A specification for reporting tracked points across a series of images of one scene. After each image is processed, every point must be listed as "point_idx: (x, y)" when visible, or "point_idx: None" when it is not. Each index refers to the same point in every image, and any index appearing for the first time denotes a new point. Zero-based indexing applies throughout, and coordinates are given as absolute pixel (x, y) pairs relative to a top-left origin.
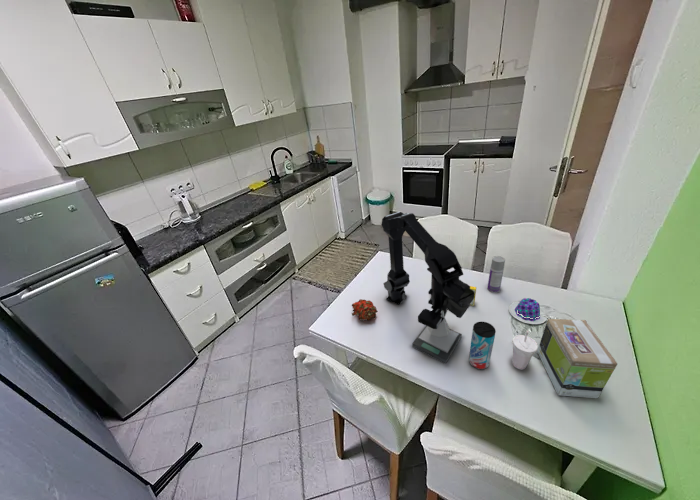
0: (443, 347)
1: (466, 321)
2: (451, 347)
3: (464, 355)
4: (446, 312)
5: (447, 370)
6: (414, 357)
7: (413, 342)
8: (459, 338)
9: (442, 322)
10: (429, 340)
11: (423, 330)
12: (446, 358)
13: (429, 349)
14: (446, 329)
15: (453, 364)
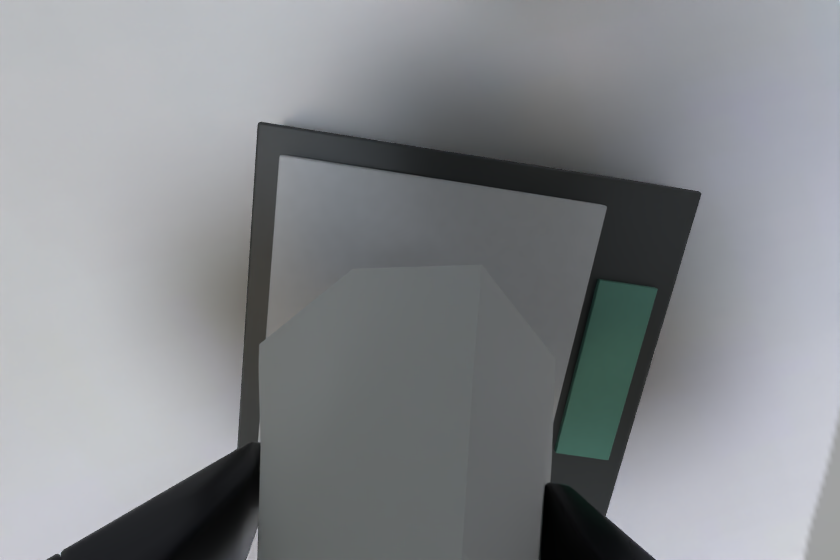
0: (564, 261)
1: (21, 130)
2: (505, 182)
3: (497, 40)
4: (134, 548)
5: (734, 154)
6: (685, 448)
7: None
8: (332, 133)
9: (493, 503)
10: None
11: None
12: (675, 193)
13: (624, 379)
14: (466, 328)
15: (647, 118)
